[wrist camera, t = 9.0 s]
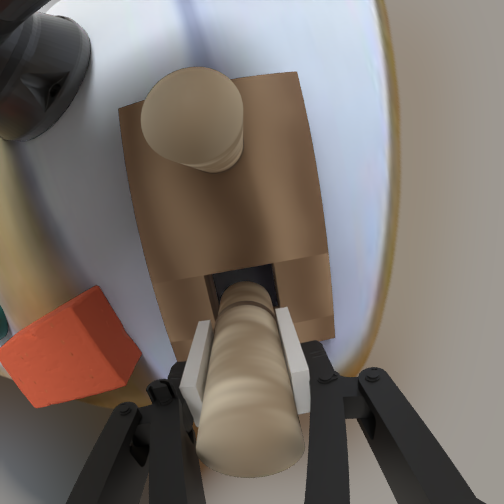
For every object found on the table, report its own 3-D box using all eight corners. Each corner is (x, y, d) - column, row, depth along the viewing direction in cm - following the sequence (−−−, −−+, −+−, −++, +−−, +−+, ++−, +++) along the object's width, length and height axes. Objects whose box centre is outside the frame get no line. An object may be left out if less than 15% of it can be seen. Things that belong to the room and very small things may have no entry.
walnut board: (185, 340, 27) (151, 448, 14) (135, 118, 22) (43, 70, 8) (323, 317, 27) (378, 416, 14) (288, 87, 22) (334, 0, 8)
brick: (54, 384, 29) (35, 409, 23) (18, 331, 27) (-7, 352, 21) (144, 353, 28) (126, 387, 22) (99, 283, 26) (69, 305, 20)
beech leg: (225, 331, 23) (210, 481, 9) (214, 284, 22) (177, 423, 8) (275, 323, 22) (309, 470, 9) (268, 275, 22) (303, 409, 8)
